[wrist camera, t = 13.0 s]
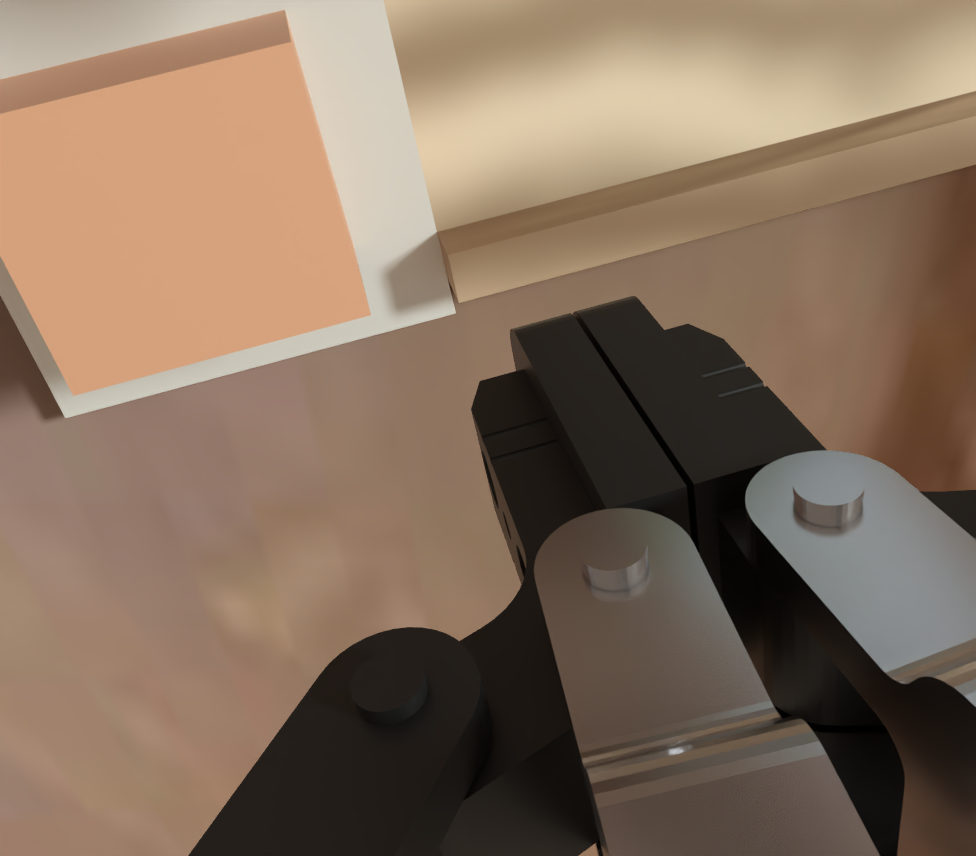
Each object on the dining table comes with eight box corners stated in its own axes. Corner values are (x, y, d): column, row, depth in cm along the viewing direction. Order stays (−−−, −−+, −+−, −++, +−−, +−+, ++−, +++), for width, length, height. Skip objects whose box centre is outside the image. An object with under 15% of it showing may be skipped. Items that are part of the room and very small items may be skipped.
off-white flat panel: (-174, -67, 23) (-191, -64, 22) (337, -182, 24) (341, -183, 23) (70, 402, 31) (65, 418, 30) (450, 300, 32) (455, 313, 31)
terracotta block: (-12, 82, 25) (-66, 130, 20) (284, 9, 25) (290, 41, 21) (99, 315, 28) (73, 395, 24) (354, 248, 29) (371, 315, 25)
